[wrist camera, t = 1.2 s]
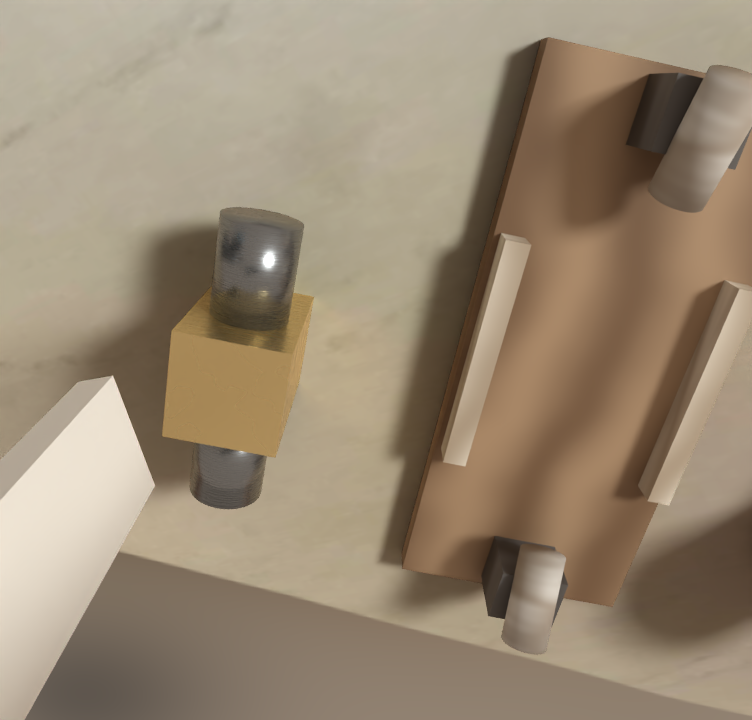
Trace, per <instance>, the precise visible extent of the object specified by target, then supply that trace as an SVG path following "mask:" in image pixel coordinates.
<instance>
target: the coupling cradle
mask: <svg viewBox="0 0 752 720" xmlns="http://www.w3.org/2000/svg"><path fill="white" fill-rule="evenodd" d="M751 322H752V74H751V73H749V72H746V71H743V70H740V69H737V68H733V67H728V66H722V65H713V66H710V67H709V69H708V71H707V73H702V72H698V71H694V70H689V69H685V68H680V67H676V66H672V65H667V64H663V63H659V62H654V61H650V60H645V59H641V58H637V57H632V56H628V55H624V54H619V53H615V52H610V51H606V50H602V49H597V48H593V47H589V46H584V45H580V44H575V43H571V42H567V41H562V40H558V39H554V38H549V37H548V38H544V39H541V42H540V45H539V49H538V53H537V56H536V60H535V64H534V67H533V71H532V75H531V79H530V82H529V86H528V90H527V93H526V97H525V101H524V104H523V108H522V112H521V115H520V119H519V123H518V126H517V130H516V134H515V137H514V141H513V145H512V149H511V152H510V156H509V160H508V163H507V167H506V171H505V174H504V178H503V182H502V185H501V189H500V193H499V196H498V200H497V204H496V208H495V211H494V215H493V219H492V222H491V226H490V230H489V233H488V237H487V241H486V244H485V248H484V252H483V255H482V259H481V263H480V266H479V270H478V274H477V278H476V281H475V285H474V289H473V292H472V296H471V300H470V303H469V307H468V311H467V314H466V318H465V322H464V325H463V329H462V333H461V336H460V340H459V344H458V348H457V351H456V355H455V359H454V362H453V366H452V370H451V373H450V377H449V381H448V384H447V388H446V392H445V395H444V399H443V403H442V406H441V410H440V414H439V418H438V421H437V425H436V429H435V432H434V436H433V440H432V443H431V447H430V451H429V454H428V458H427V462H426V465H425V469H424V473H423V476H422V480H421V484H420V488H419V491H418V495H417V499H416V502H415V506H414V510H413V513H412V517H411V521H410V524H409V528H408V532H407V535H406V539H405V543H404V546H403V550H402V569H406V570H412V571H417V572H423V573H428V574H434V575H439V576H445V577H450V578H456V579H462V580H467V581H473V582H478V583H483V589H484V594H485V600H486V606H487V611H488V616H491V617H497V618H502V619H505V621H504V626H503V631H502V635H501V638H502V640H503V641H504V642H505V643H506V644H507V645H509V646H510V647H512V648H514V649H516V650H518V651H521V652H524V653H528V654H535V655H538V654H543V653H545V652H546V650H547V645H548V640H549V636H550V631H551V627H552V625H553V622H554V620H555V617H556V615H557V612H558V610H559V607H560V605H561V602H562V600H563V598H567V599H572V600H578V601H583V602H589V603H594V604H600V605H605V606H611V607H613V604H614V602H615V600H616V597H617V595H618V593H619V591H620V588H621V586H622V584H623V582H624V579H625V577H626V575H627V573H628V570H629V568H630V566H631V564H632V561H633V559H634V557H635V554H636V552H637V550H638V548H639V545H640V543H641V541H642V539H643V536H644V534H645V532H646V530H647V527H648V525H649V523H650V521H651V518H652V516H653V514H654V511H655V509H656V507H657V505H658V503H660V504H665V505H669V504H670V502H671V500H672V497H673V495H674V493H675V491H676V489H677V486H678V484H679V482H680V480H681V477H682V475H683V473H684V471H685V469H686V466H687V464H688V462H689V460H690V457H691V455H692V453H693V451H694V449H695V446H696V444H697V442H698V440H699V437H700V435H701V433H702V431H703V429H704V426H705V424H706V422H707V420H708V417H709V415H710V413H711V411H712V409H713V406H714V404H715V402H716V400H717V397H718V395H719V393H720V391H721V389H722V386H723V384H724V382H725V380H726V377H727V375H728V373H729V371H730V368H731V366H732V364H733V362H734V360H735V357H736V355H737V353H738V351H739V348H740V346H741V344H742V342H743V340H744V337H745V335H746V333H747V331H748V328H749V326H750V324H751Z"/></svg>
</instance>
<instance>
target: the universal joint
mask: <svg viewBox="0 0 752 720" xmlns="http://www.w3.org/2000/svg"><path fill="white" fill-rule="evenodd" d="M303 230H304V224H303V223H302V222H300V221H299V220H297V219H294V218H292V217H289V216H286V215H283V214H280V213H276V212H271V211H266V210H261V209H254V208H242V207H232V208H225V209H222V210H221V211H220V218H219V227H218V236H217V245H216V254H215V263H214V272H213V281H212V286H211V287H210V288H209V290H208V291H207V292H206V293H205V294H204V295H203V296H202V297H201V298H200V300H199V301H198V302H197V303H196V304H195V305H194V306H193V307H192V308H191V310H190V311H189V312H188V313H187V314H186V315H185V316H184V317H183V319H182V320H181V321H180V322H179V323H178V324H177V325H176V326H175V327H174V329H173V330H172V331H171V342H170V353H169V364H168V375H167V386H166V397H165V408H164V420H163V431H162V436H163V437H168V438H174V439H179V440H184V441H190V442H194V451H193V459H192V468H191V477H190V491H191V493H192V495H193V496H194V497H195V498H196V499H197V500H198V501H200V502H201V503H203V504H205V505H208V506H211V507H215V508H220V509H237V508H242V507H245V506H248V505H250V504H252V503H253V502H255V501H256V500H257V499H258V498H259V496H260V494H261V489H262V483H263V476H264V470H265V464H266V458H267V456H269V457H276V454H277V451H278V448H279V444H280V441H281V438H282V435H283V432H284V428H285V425H286V422H287V419H288V416H289V413H290V409H291V406H292V403H293V400H294V397H295V394H296V390H297V387H298V384H299V380H300V374H301V368H302V363H303V357H304V351H305V345H306V340H307V334H308V328H309V323H310V317H311V311H312V305H313V300H314V297H311V296H307V295H302V294H297V293H293V291H294V285H295V279H296V273H297V267H298V260H299V254H300V248H301V242H302V236H303Z"/></svg>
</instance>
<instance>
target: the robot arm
mask: <svg viewBox="0 0 752 720" xmlns="http://www.w3.org/2000/svg"><path fill="white" fill-rule="evenodd" d="M154 487H155V484H154V482H153V479H152V476H151V474H150V471H149V469H148V466H147V463H146V461H145V458H144V455H143V453H142V450H141V448H140V445H139V442H138V440H137V437H136V435H135V432H134V429H133V427H132V424H131V421H130V419H129V416H128V414H127V411H126V408H125V406H124V403H123V400H122V398H121V395H120V393H119V390H118V387H117V385H116V382H115V380H114V377H113V376H108V377H102V378H96V379H91V380H85V381H79V382H77V383H76V384H75V385H74V386H73V387H72V388H71V389H70V390H69V391H68V392H67V393H66V394H65V395H64V396H63V397H62V398H61V399H60V400H59V401H58V402H57V403H56V404H55V405H54V406H53V407H52V408H51V409H50V410H49V411H48V412H47V413H46V414H45V415H44V416H43V417H42V418H41V419H40V420H39V421H38V422H37V423H36V424H35V425H34V426H33V427H32V428H31V429H30V430H29V431H28V432H27V433H26V434H25V435H24V436H23V437H22V438H21V439H20V440H19V441H18V442H17V443H16V444H15V445H14V446H13V447H12V448H11V449H10V450H9V451H8V452H7V453H6V455H5V456H4V457H3V458H2V459H1V460H0V720H25V718H26V716H27V714H28V713H29V711H30V709H31V707H32V705H33V704H34V702H35V700H36V698H37V697H38V695H39V693H40V691H41V689H42V687H43V686H44V684H45V682H46V680H47V679H48V677H49V675H50V673H51V671H52V670H53V668H54V666H55V664H56V662H57V660H58V659H59V657H60V655H61V654H62V652H63V650H64V648H65V646H66V644H67V643H68V641H69V639H70V637H71V636H72V634H73V632H74V630H75V628H76V627H77V625H78V623H79V621H80V619H81V618H82V616H83V614H84V612H85V610H86V609H87V607H88V605H89V603H90V601H91V600H92V598H93V596H94V594H95V593H96V591H97V589H98V587H99V585H100V584H101V582H102V580H103V578H104V576H105V575H106V573H107V571H108V569H109V567H110V566H111V564H112V562H113V560H114V558H115V557H116V555H117V553H118V551H119V550H120V548H121V546H122V544H123V542H124V541H125V539H126V537H127V535H128V533H129V532H130V530H131V528H132V526H133V524H134V523H135V521H136V519H137V517H138V515H139V514H140V512H141V510H142V508H143V507H144V505H145V503H146V501H147V499H148V498H149V496H150V494H151V492H152V490H153V489H154Z"/></svg>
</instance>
